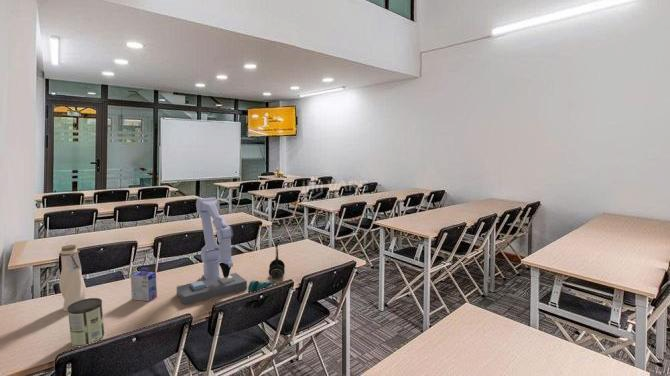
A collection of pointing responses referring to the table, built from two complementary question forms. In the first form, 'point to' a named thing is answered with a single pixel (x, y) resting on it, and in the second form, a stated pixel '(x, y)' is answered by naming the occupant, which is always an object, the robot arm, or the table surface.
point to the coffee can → (86, 321)
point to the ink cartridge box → (143, 285)
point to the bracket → (259, 285)
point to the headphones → (276, 266)
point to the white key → (226, 279)
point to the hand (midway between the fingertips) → (226, 276)
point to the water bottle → (71, 276)
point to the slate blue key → (197, 286)
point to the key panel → (210, 289)
